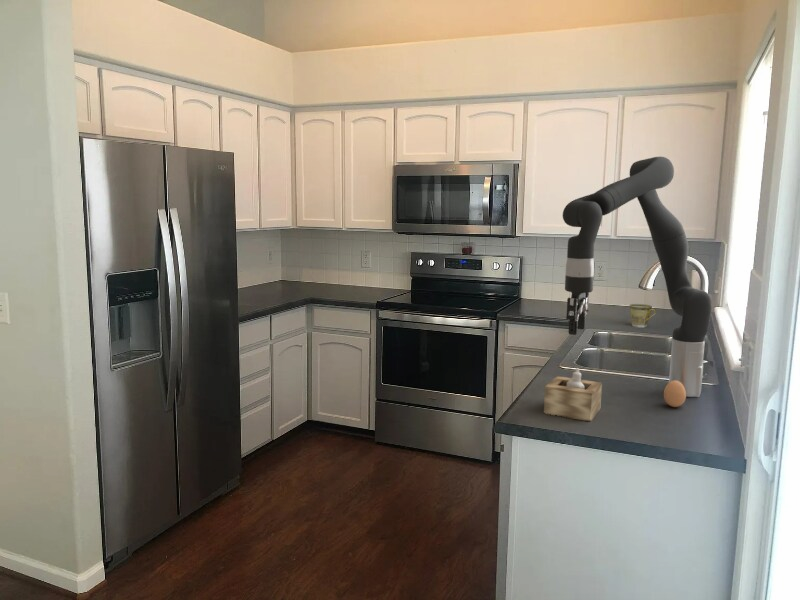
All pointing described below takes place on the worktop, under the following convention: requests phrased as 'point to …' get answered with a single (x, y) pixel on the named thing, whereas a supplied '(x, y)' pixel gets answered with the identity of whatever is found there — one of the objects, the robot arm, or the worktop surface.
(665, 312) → the worktop surface
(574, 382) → the eye dropper bottle
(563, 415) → the box
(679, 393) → the egg
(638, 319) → the ceramic cup
